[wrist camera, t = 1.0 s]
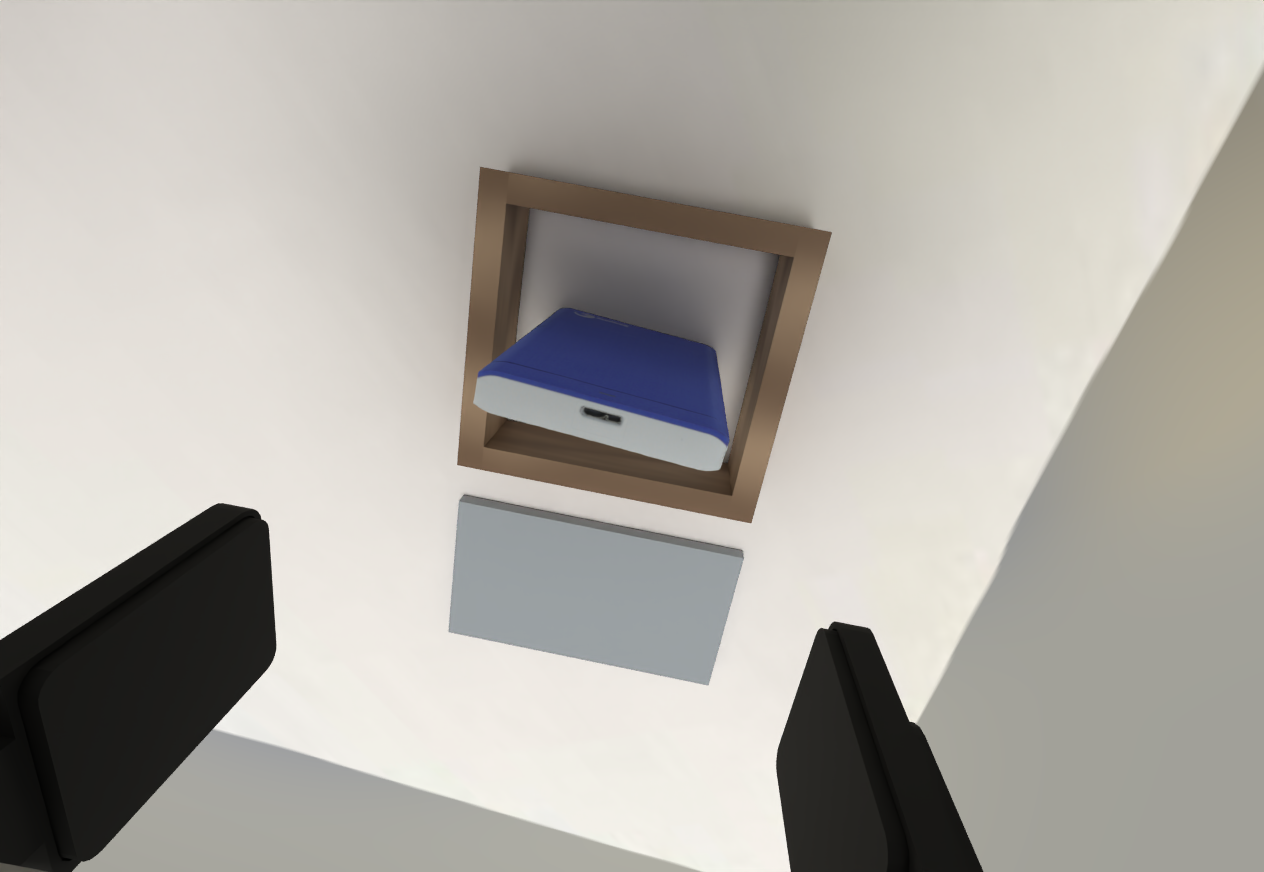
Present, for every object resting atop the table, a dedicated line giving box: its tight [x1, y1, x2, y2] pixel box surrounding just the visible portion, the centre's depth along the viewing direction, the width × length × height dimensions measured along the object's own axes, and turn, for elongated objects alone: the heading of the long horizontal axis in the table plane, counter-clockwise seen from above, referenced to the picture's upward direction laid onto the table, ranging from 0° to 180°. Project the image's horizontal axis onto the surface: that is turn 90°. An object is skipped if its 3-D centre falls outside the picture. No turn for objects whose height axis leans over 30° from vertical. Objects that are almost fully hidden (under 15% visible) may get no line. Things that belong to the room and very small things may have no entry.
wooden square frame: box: [457, 167, 832, 523], centre depth 29 cm, size 13×14×4 cm
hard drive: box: [473, 308, 729, 471], centre depth 25 cm, size 2×8×12 cm, turn 76°
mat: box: [449, 495, 744, 685], centre depth 36 cm, size 9×16×1 cm, turn 80°
